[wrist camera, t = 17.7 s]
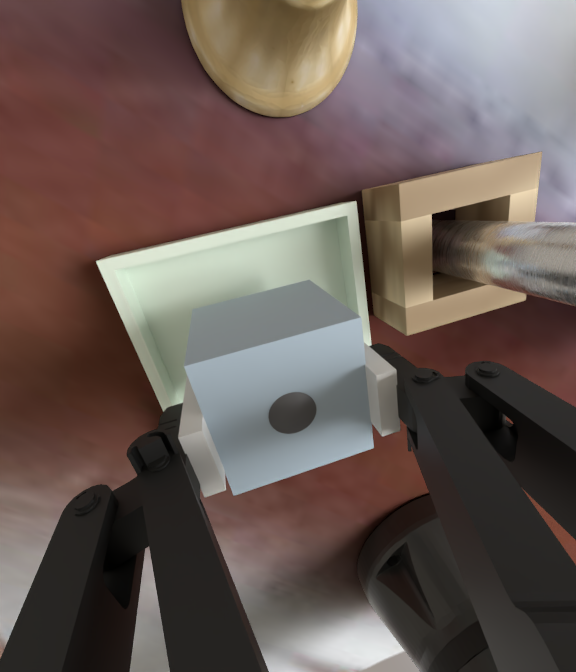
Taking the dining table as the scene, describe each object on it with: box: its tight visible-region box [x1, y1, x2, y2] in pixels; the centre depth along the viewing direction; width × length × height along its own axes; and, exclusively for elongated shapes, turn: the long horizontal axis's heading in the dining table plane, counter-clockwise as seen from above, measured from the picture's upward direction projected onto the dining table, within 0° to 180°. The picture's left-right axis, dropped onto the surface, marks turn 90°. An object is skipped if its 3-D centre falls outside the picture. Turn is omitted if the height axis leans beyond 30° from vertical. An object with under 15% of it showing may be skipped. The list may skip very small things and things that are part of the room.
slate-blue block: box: [184, 280, 374, 496], centre depth 14 cm, size 6×6×6 cm
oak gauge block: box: [362, 152, 542, 336], centre depth 19 cm, size 8×8×4 cm
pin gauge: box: [432, 220, 576, 306], centre depth 15 cm, size 3×3×13 cm
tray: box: [96, 201, 371, 412], centre depth 19 cm, size 13×13×2 cm
